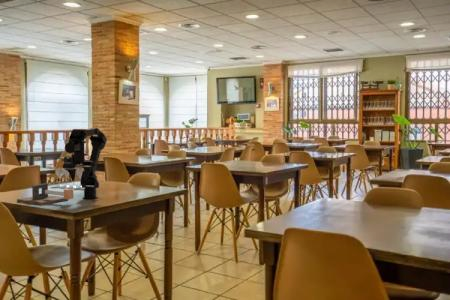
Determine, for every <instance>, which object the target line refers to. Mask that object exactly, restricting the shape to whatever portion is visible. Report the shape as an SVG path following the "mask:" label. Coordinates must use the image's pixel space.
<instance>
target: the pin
mask: <svg viewBox="0 0 450 300" xmlns="http://www.w3.org/2000/svg"><path fill="white" fill-rule="evenodd" d="M45 194H48V195H51V196H60V197H64V199H68V200H73V199H74V188H66V189H63V190H55V189H48V190H45Z"/></svg>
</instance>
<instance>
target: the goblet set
mask: <svg viewBox="0 0 450 300" xmlns="http://www.w3.org/2000/svg"><path fill="white" fill-rule="evenodd" d="M83 167H84V166H78V167H75V168H74V169H76V174H75V176H76V175H77V177H78V178H79V185H80V186H76V185H75V180H74V181H72V182H73V185H72V186H71V185H70V187H71V188H76V187H77V188H82V187H81V182H80V180H81V176H82V172H83V171H84V169H83ZM65 169H66V168H63V167H56V168H55V175H56V176H57V177H58V179H59V180H61V178H62V177H63V175H64V176H65V179H66V180H65V181H66V182H68V176H69V175H70V174H69V172H68V171H67V170H65ZM56 186H57V187H69V185H68V184H66V185H63V184H57V185H56ZM86 186H88V185H86Z"/></svg>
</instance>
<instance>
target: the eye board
mask: <svg viewBox="0 0 450 300" xmlns="http://www.w3.org/2000/svg"><path fill="white" fill-rule="evenodd" d="M31 187H32V190H31V191H32V195H31V196H28V197H23V198H17V199H16V203H21V202H22V204H30V205H36V204H37V205H39V206H45V205H50V204H56V203H62V202H65V201H69V199H64V196H60V195H51V194H45V190H49V185H48V183H40V184H33V185H31ZM40 189H41V193H40ZM37 205H36V206H37Z"/></svg>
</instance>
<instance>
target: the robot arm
mask: <svg viewBox="0 0 450 300" xmlns="http://www.w3.org/2000/svg"><path fill="white" fill-rule="evenodd" d="M88 137H89V140H90V144H91V146H92V147H91V153H90V157H89V160H86V157H85V156H87V153H85V144H86V139H87V138H88ZM107 142H108V140H107V137H106V135H105V133H103V132H102V131H100V129H99V128H98V127H90V128H73V129H72V130H71V132H70V135H69V136H68V140H67V143H66V144H65V145H64V150H65V152H67V153H68V154H71V156H64V157H63V162H64V163H63V164H62V168H63V169H64V168H66V169H65V170H67V171H68V172H69V174H68V175H69V176H70V179H71V181H72V182H73V181H74V182H75V181H76V180H75V179H76V175H77V172H76V169H77V168H78V167H83V169H84V171H83V172H82V176H81V180H80V179H79V183H80V182H81V187H80V188H81V189H84V191H83V197H82V199H85V200H93V199H98V198H99V196H97V189H98V188H100V182H99V181H98V175H97V173H96V171H97V167H98V163H99V160H100V155H101V151H102V150H103V149H105V148H106V145H107ZM75 167H76V169H74V168H75ZM75 174H76V175H75ZM87 185H88V186H87Z"/></svg>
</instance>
